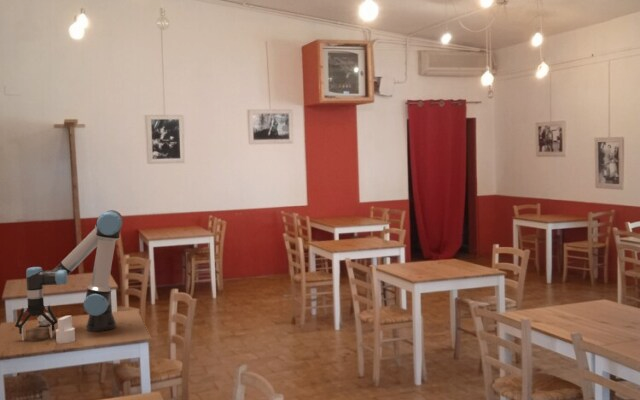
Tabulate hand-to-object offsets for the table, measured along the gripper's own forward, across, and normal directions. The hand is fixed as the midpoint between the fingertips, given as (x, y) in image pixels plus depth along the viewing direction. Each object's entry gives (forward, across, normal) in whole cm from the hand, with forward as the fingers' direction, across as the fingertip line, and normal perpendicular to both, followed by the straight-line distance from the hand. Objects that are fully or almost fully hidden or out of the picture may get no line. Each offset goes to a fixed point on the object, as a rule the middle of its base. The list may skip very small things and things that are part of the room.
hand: (37, 338), depth 346 cm
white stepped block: (0, -14, +11) cm, 18 cm away
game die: (0, -1, -30) cm, 30 cm away
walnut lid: (0, 0, 0) cm, 0 cm away
